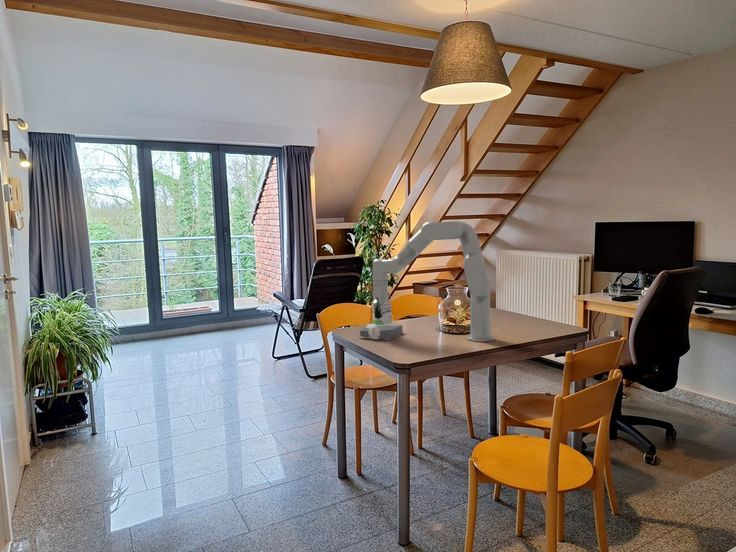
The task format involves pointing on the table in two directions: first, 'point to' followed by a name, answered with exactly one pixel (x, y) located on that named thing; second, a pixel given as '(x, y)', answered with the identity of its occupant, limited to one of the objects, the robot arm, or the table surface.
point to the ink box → (383, 314)
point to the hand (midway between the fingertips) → (381, 316)
